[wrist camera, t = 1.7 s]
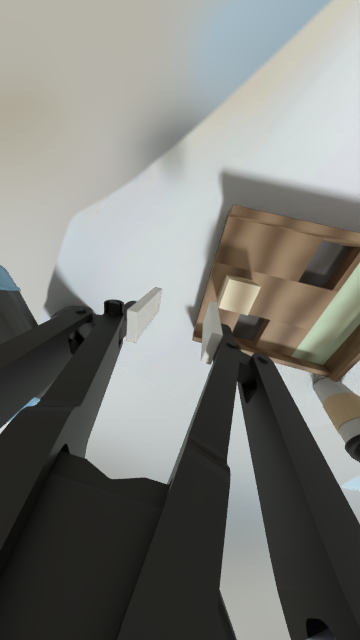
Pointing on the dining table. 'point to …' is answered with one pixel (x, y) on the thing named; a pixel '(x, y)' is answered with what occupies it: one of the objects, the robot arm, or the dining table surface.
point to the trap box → (291, 291)
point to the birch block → (237, 294)
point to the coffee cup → (342, 412)
